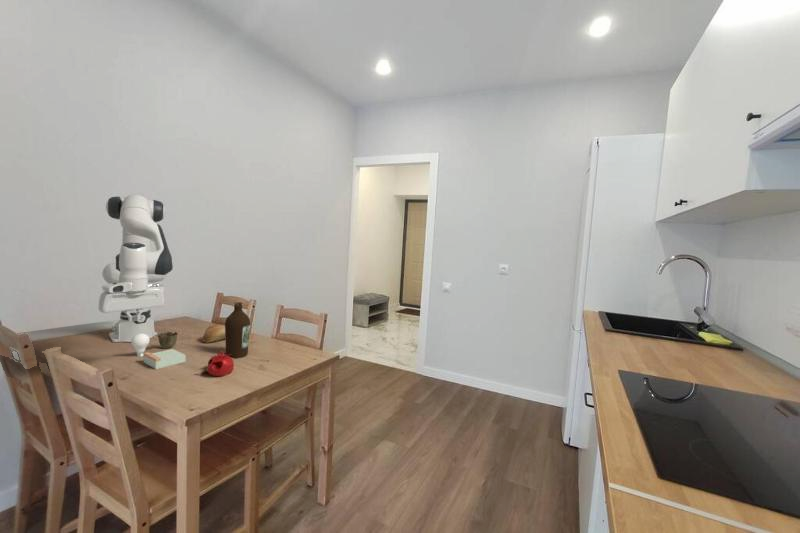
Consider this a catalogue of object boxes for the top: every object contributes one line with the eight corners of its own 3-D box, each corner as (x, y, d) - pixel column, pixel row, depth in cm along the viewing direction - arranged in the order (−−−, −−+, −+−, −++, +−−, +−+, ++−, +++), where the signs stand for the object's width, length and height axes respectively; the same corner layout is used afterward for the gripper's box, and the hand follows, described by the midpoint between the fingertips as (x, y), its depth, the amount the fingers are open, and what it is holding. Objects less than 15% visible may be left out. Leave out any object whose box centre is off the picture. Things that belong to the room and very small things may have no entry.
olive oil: (219, 358, 153) (221, 304, 151) (230, 350, 163) (232, 299, 161) (243, 359, 153) (245, 305, 151) (252, 351, 164) (254, 301, 162)
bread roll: (197, 342, 172) (197, 326, 172) (223, 335, 186) (223, 321, 185) (210, 345, 168) (210, 330, 168) (235, 338, 182) (236, 324, 181)
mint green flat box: (143, 362, 139) (143, 352, 139) (172, 355, 149) (172, 346, 148) (155, 369, 134) (156, 359, 133) (185, 361, 143) (185, 352, 143)
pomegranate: (224, 367, 144) (225, 345, 143) (239, 372, 139) (240, 350, 138) (201, 373, 135) (201, 351, 135) (215, 380, 130) (216, 356, 130)
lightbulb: (129, 361, 142) (129, 336, 141) (133, 356, 148) (133, 332, 147) (147, 360, 145) (148, 335, 144) (150, 355, 151) (151, 331, 150)
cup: (181, 348, 162) (181, 332, 161) (169, 353, 154) (169, 336, 154) (166, 346, 162) (166, 330, 162) (154, 351, 155) (154, 334, 154)
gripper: (160, 282, 140) (160, 315, 141) (96, 286, 122) (96, 323, 123) (167, 284, 136) (167, 317, 137) (103, 288, 119) (103, 327, 120)
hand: (133, 320), depth 130 cm, fingers closed
